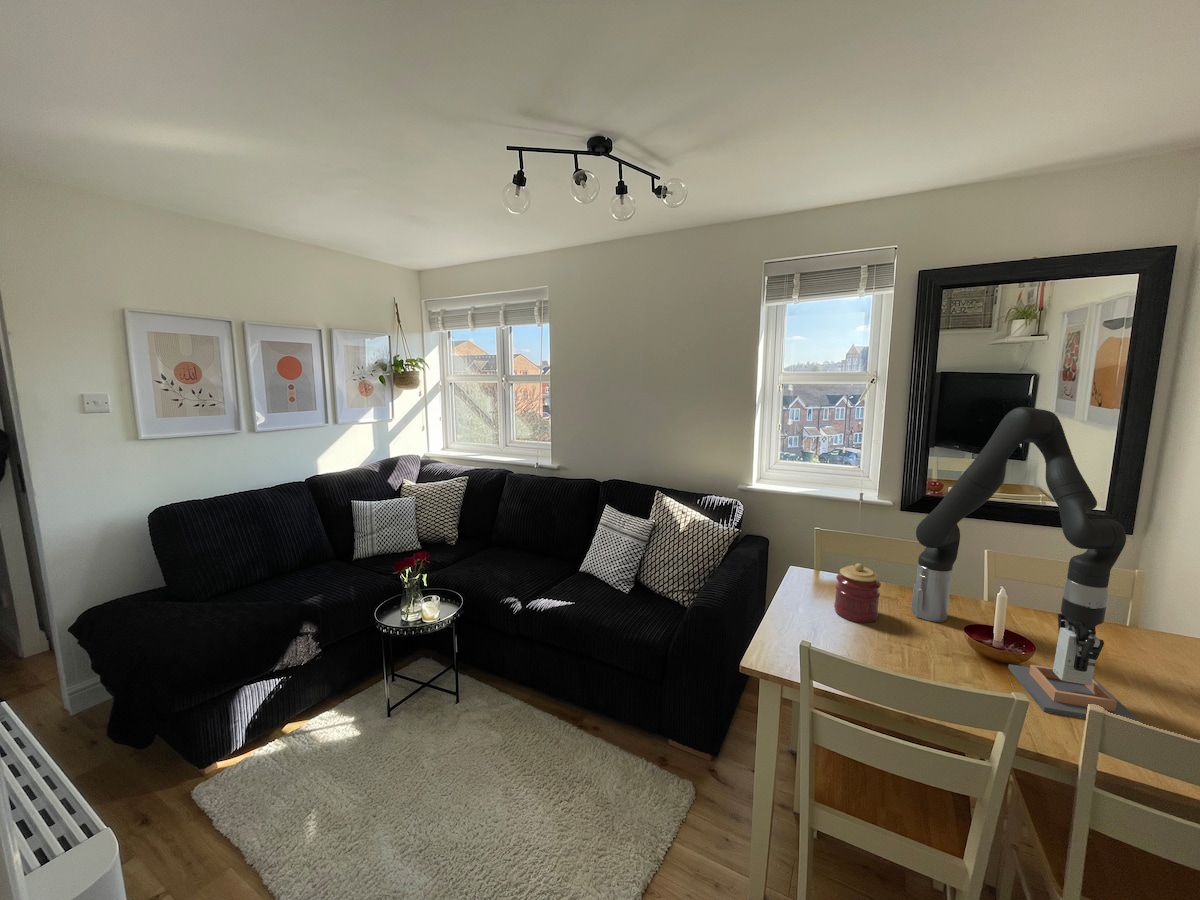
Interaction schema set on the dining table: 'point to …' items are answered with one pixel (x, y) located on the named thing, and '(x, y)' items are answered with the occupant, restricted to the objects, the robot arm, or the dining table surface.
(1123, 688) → the dining table surface
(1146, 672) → the dining table surface
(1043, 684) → the collar stand
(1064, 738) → the dining table surface
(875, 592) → the canister
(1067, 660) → the skincare box
